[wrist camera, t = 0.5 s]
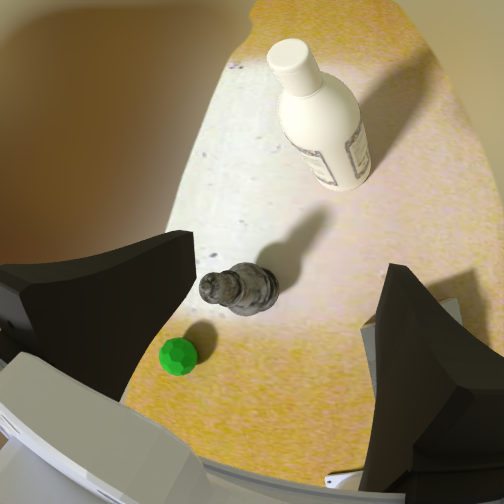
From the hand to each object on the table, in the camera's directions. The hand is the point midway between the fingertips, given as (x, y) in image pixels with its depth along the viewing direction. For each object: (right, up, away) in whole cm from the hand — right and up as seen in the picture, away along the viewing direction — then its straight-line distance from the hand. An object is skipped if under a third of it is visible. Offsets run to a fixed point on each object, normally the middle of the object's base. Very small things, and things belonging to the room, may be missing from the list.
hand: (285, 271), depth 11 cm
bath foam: (+9, +11, +24) cm, 28 cm away
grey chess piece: (0, -4, +27) cm, 27 cm away
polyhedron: (-10, -13, +30) cm, 34 cm away
